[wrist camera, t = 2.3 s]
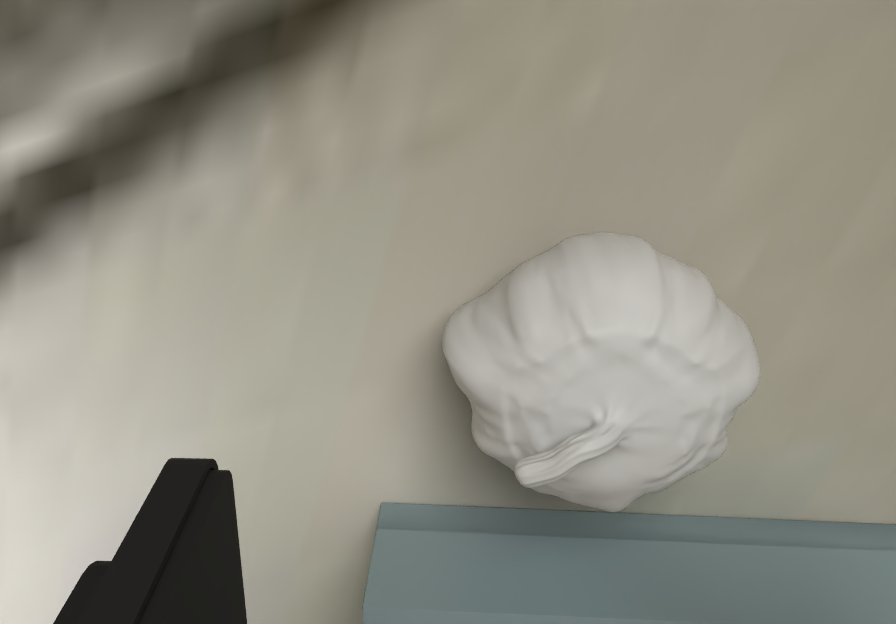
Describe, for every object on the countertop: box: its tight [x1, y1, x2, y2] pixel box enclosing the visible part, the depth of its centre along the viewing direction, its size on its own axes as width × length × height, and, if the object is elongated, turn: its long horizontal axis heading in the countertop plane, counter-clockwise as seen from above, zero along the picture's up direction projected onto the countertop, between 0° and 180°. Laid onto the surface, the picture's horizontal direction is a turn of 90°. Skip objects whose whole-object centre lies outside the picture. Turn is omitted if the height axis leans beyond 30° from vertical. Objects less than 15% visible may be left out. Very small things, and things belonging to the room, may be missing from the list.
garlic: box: [442, 232, 760, 512], centre depth 15 cm, size 6×5×5 cm
